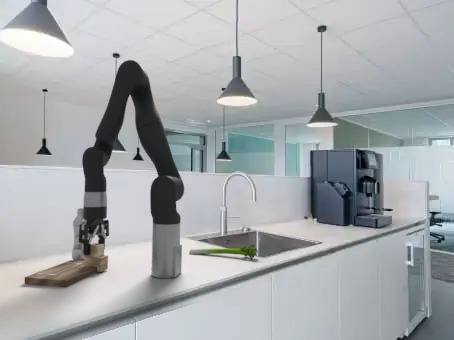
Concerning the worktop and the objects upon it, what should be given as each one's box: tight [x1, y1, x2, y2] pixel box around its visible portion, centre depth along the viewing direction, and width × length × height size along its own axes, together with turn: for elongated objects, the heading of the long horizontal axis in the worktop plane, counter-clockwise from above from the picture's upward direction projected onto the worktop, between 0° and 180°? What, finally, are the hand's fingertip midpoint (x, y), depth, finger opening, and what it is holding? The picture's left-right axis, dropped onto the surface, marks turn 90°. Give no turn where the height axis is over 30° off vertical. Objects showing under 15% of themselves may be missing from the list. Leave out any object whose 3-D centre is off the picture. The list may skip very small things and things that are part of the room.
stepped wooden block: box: [84, 242, 109, 273], centre depth 110 cm, size 8×4×8 cm, turn 80°
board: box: [24, 259, 98, 289], centre depth 104 cm, size 14×21×2 cm, turn 170°
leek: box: [188, 244, 259, 260], centre depth 134 cm, size 6×7×30 cm
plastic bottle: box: [71, 207, 89, 261], centre depth 123 cm, size 6×7×20 cm
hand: (94, 252), depth 109 cm, fingers open, 8 cm apart
